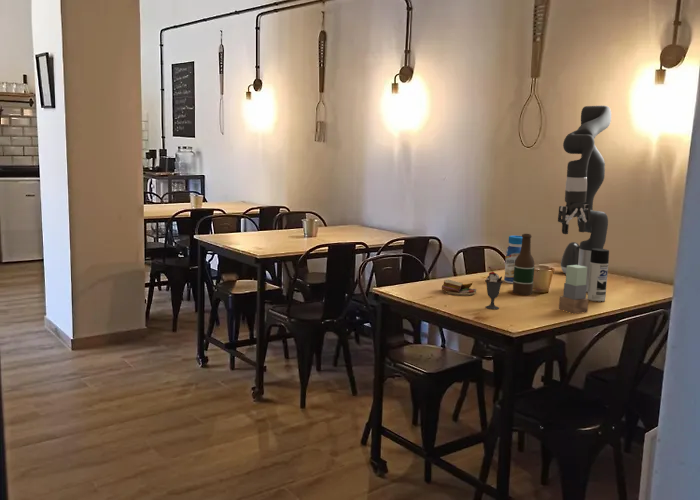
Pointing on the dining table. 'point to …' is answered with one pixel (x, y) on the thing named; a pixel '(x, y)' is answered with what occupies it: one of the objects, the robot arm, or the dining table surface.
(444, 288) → the toy sandwich meal
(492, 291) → the sundae
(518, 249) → the beverage bottle
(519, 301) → the dining table surface
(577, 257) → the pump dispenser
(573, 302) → the plinth
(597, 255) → the spray can
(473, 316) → the dining table surface
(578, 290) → the cube
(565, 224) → the robot arm
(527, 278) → the beer bottle
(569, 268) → the block
